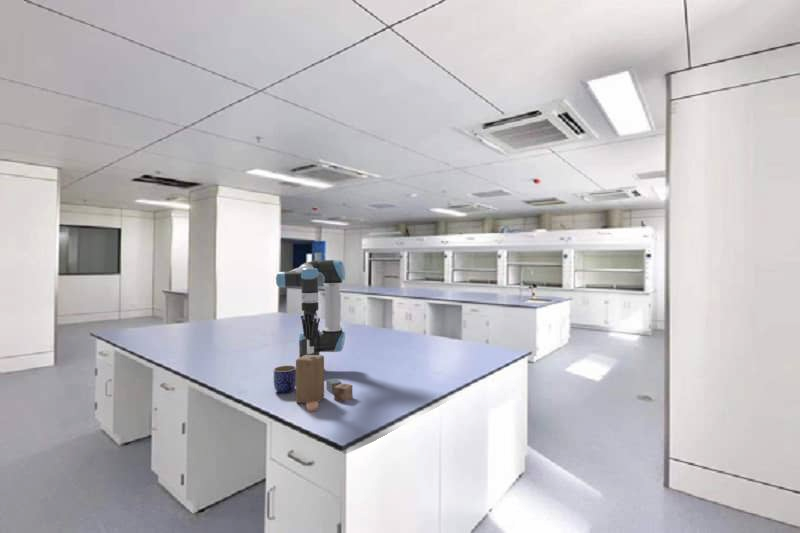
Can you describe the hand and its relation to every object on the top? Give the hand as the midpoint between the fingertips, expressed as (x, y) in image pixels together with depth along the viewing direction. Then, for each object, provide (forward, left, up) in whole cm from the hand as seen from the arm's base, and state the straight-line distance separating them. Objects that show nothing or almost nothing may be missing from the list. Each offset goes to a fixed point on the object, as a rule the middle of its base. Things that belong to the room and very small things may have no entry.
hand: (310, 353), depth 171 cm
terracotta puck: (+10, -5, -22) cm, 25 cm away
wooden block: (0, 0, -22) cm, 22 cm away
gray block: (-3, +15, -22) cm, 27 cm away
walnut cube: (+9, +12, -22) cm, 27 cm away
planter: (-20, -2, -22) cm, 30 cm away
